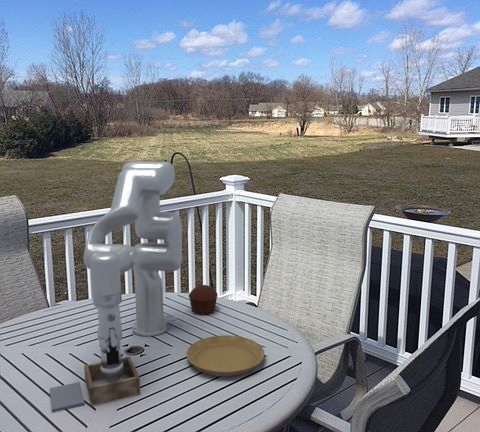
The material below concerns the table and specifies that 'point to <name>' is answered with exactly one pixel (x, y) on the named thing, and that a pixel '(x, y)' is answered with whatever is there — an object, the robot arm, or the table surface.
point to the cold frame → (111, 383)
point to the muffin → (203, 300)
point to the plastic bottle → (106, 371)
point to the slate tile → (66, 396)
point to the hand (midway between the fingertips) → (111, 358)
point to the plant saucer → (225, 355)
